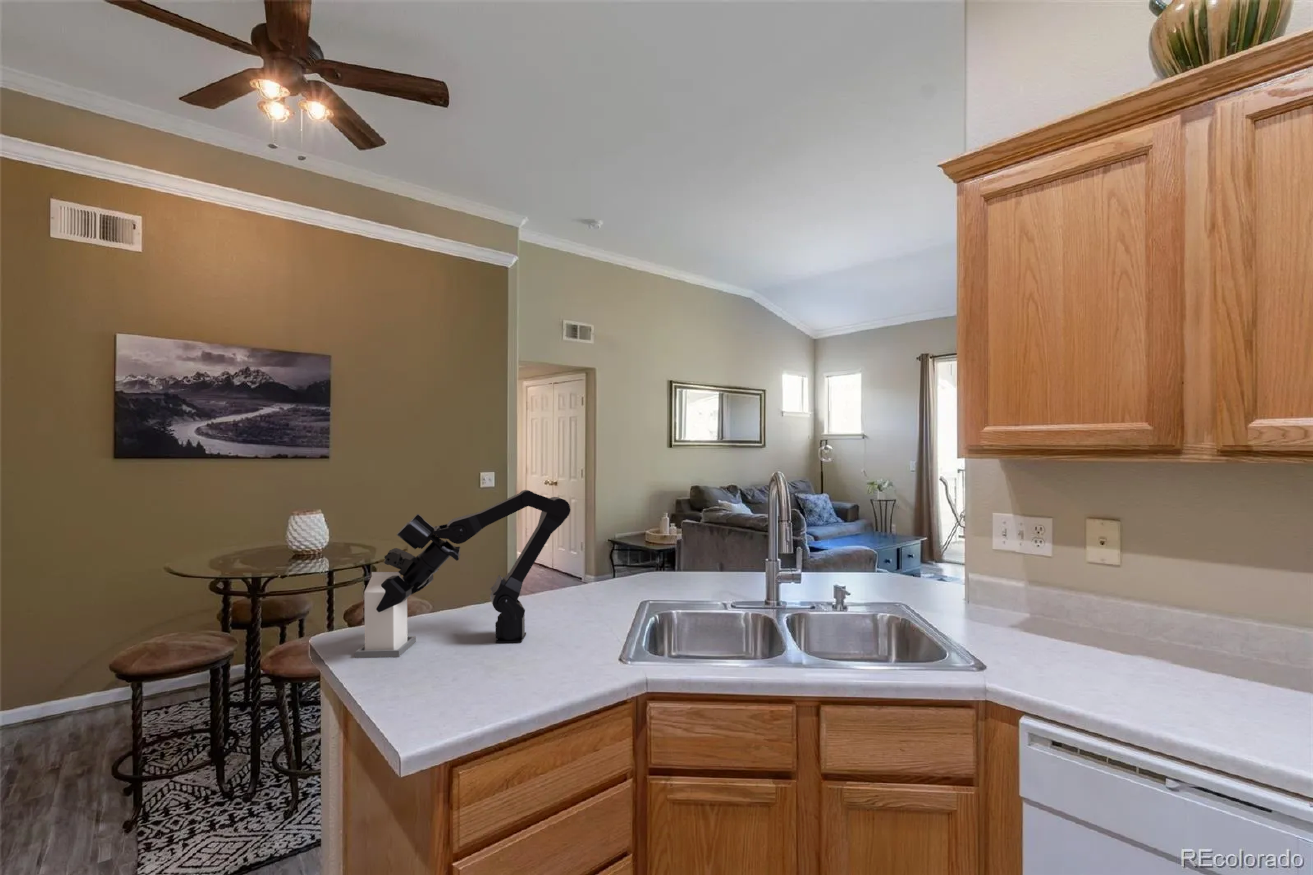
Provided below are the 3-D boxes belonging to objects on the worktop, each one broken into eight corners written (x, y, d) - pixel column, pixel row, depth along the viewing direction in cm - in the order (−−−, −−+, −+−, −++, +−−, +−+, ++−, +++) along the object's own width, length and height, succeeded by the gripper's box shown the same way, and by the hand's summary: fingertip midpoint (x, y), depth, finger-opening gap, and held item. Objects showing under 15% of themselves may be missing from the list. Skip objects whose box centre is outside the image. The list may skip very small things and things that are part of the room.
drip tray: (415, 642, 147) (415, 636, 147) (398, 657, 136) (398, 650, 136) (375, 643, 146) (375, 637, 146) (355, 658, 136) (355, 651, 136)
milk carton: (393, 655, 138) (393, 575, 138) (364, 655, 138) (364, 575, 138) (407, 644, 145) (407, 568, 145) (379, 644, 145) (379, 568, 145)
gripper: (420, 531, 151) (378, 574, 151) (389, 544, 132) (341, 593, 132) (451, 561, 151) (409, 604, 151) (424, 578, 133) (376, 627, 132)
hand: (384, 606), depth 141 cm, fingers closed on milk carton, 7 cm apart
